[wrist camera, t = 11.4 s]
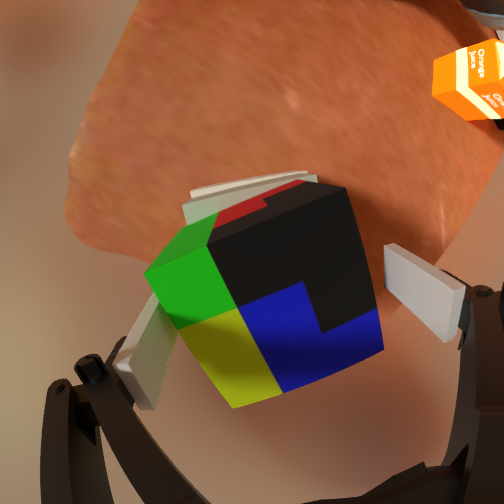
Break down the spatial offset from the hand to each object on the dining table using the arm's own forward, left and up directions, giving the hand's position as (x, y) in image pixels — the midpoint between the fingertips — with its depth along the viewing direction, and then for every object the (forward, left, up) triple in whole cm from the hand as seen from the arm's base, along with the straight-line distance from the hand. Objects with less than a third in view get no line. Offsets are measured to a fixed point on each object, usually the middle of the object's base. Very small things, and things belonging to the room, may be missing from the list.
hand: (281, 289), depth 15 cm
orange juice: (-36, -17, -20) cm, 44 cm away
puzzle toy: (0, +1, -8) cm, 8 cm away
